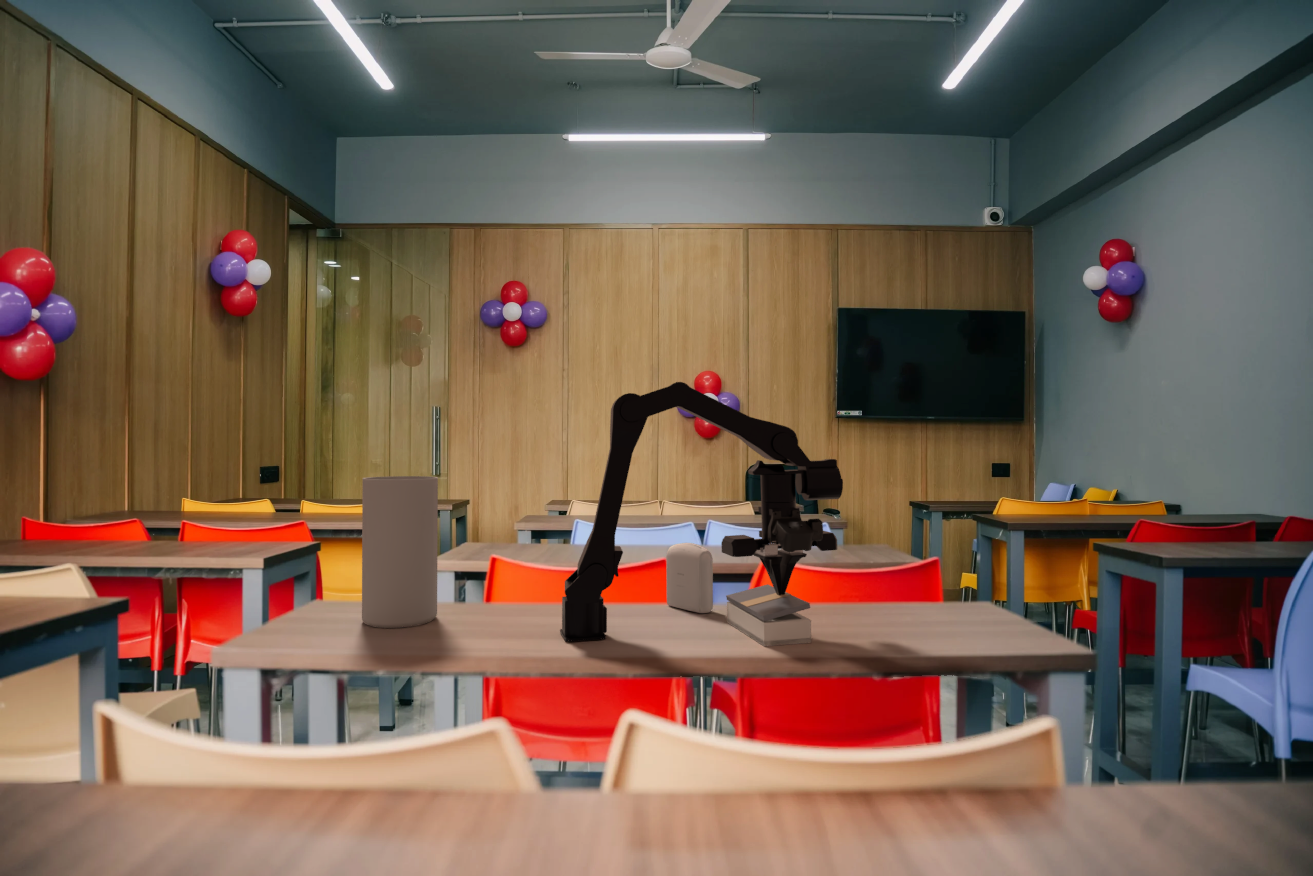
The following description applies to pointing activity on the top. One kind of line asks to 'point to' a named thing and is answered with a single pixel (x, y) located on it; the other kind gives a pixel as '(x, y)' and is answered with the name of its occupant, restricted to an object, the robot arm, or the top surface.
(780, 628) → the storage box
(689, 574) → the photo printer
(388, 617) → the cylinder vase
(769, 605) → the flap lid
